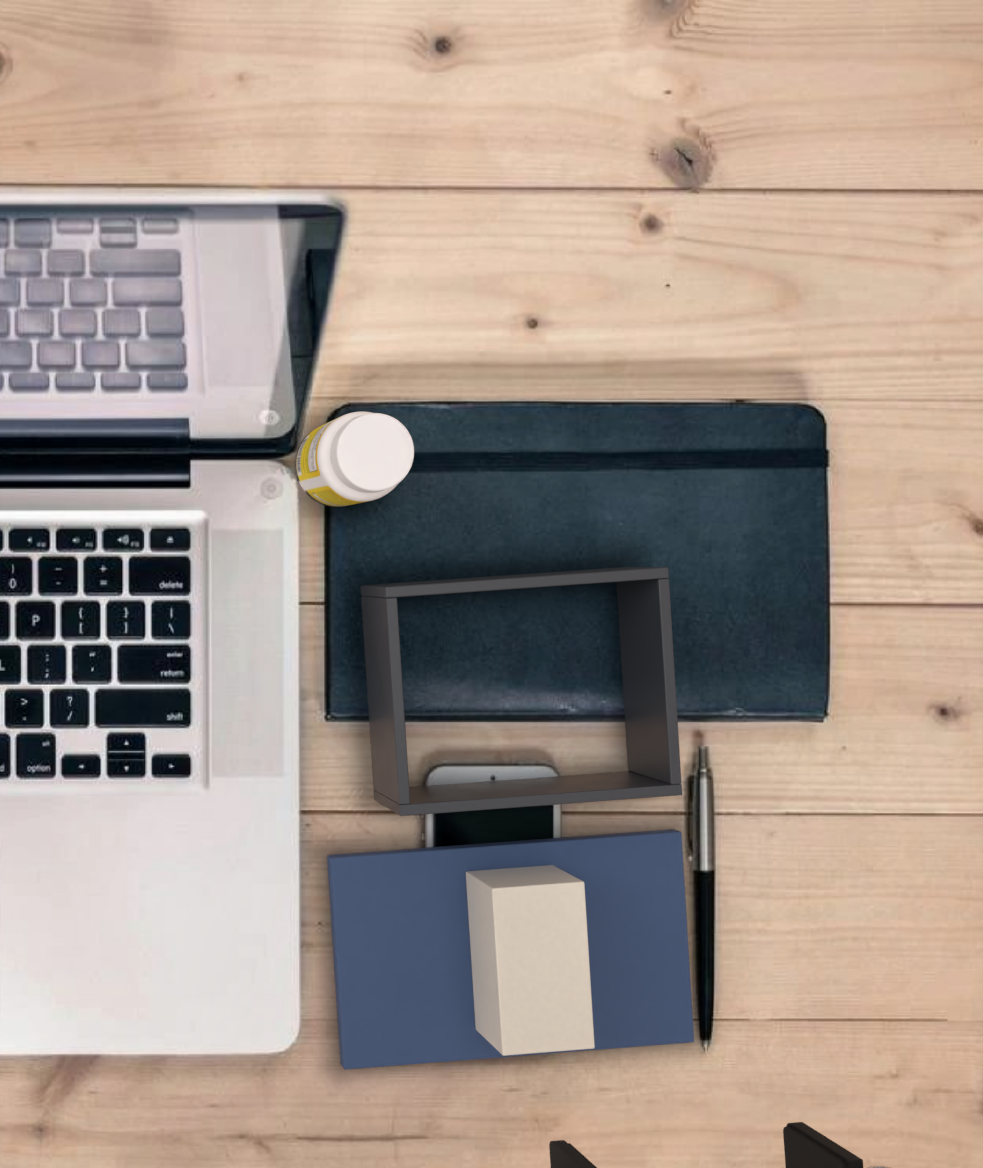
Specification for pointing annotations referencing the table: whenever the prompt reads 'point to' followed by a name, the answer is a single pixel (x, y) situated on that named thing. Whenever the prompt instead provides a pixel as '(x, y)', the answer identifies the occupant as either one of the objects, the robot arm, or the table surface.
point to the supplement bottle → (354, 459)
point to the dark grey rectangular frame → (646, 777)
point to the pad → (443, 955)
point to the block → (530, 959)
